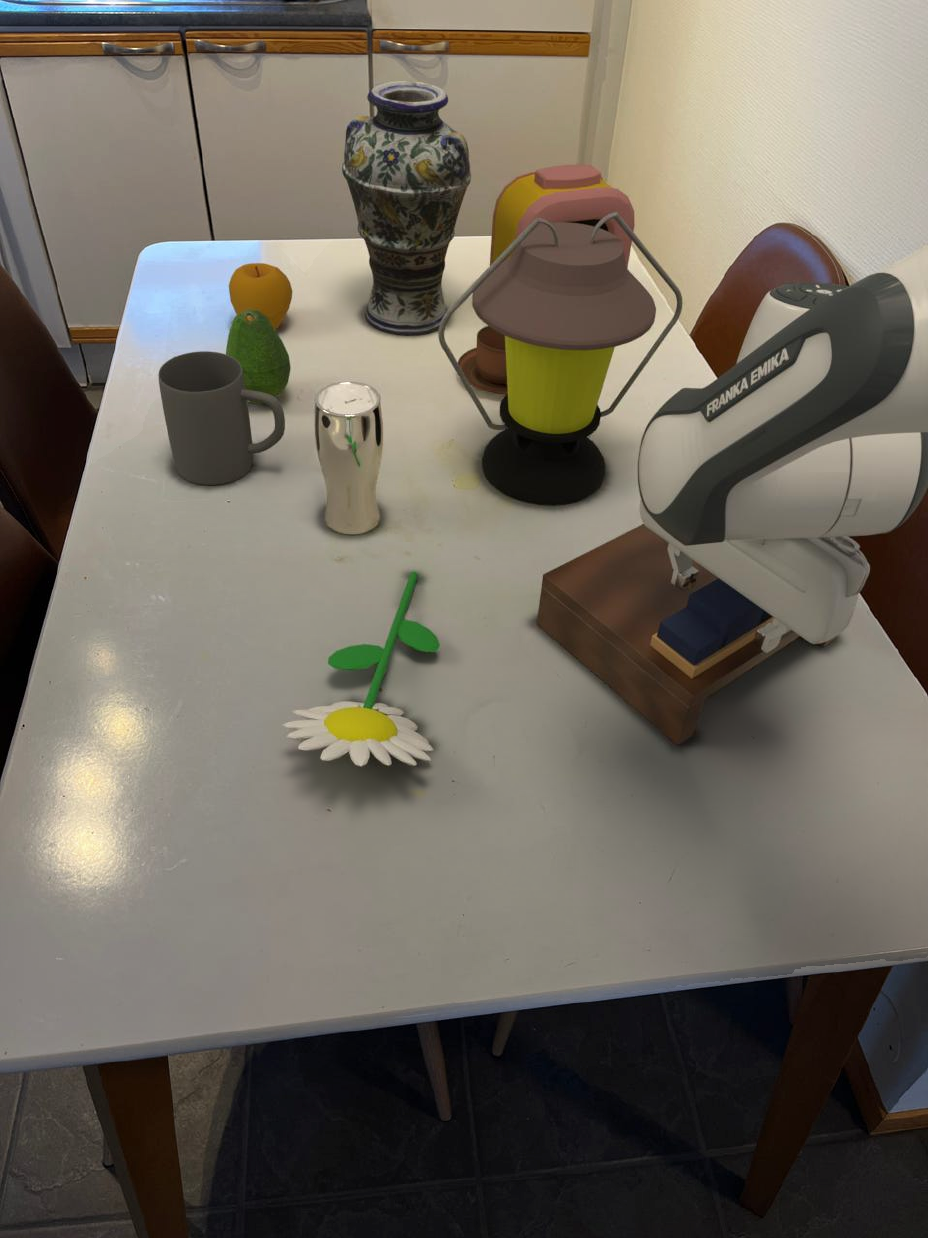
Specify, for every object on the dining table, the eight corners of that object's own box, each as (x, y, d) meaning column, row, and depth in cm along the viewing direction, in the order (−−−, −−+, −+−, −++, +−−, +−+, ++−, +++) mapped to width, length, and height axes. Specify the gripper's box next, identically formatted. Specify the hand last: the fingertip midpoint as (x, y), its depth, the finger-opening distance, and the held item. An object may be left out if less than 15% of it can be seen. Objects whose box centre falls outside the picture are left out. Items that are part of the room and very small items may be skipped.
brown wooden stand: (835, 639, 96) (857, 590, 92) (677, 746, 85) (693, 696, 81) (693, 540, 107) (705, 492, 102) (536, 623, 96) (542, 574, 91)
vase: (369, 282, 149) (364, 65, 129) (477, 300, 147) (489, 81, 126) (330, 330, 138) (318, 100, 117) (447, 351, 135) (455, 118, 114)
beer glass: (312, 531, 105) (302, 410, 94) (332, 494, 110) (325, 375, 99) (374, 542, 104) (371, 421, 93) (391, 504, 109) (391, 386, 98)
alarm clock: (512, 328, 141) (523, 191, 127) (483, 295, 148) (491, 162, 135) (624, 311, 146) (646, 178, 133) (591, 281, 153) (609, 151, 140)
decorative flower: (352, 586, 102) (263, 791, 77) (355, 547, 99) (263, 747, 75) (471, 608, 101) (418, 821, 77) (477, 570, 98) (424, 779, 74)
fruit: (217, 402, 122) (204, 313, 114) (259, 377, 127) (250, 290, 119) (264, 423, 119) (254, 333, 111) (306, 397, 124) (299, 308, 116)
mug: (161, 480, 110) (142, 386, 102) (192, 437, 117) (177, 345, 108) (276, 498, 109) (266, 404, 100) (301, 453, 115) (294, 362, 107)
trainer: (738, 592, 91) (753, 546, 87) (781, 622, 88) (798, 576, 84) (649, 645, 85) (661, 598, 81) (691, 679, 82) (706, 632, 78)
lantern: (650, 438, 121) (702, 191, 100) (648, 531, 107) (708, 268, 87) (455, 413, 123) (467, 167, 102) (428, 502, 109) (435, 238, 89)
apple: (296, 313, 141) (292, 253, 135) (292, 341, 135) (287, 280, 129) (237, 312, 140) (230, 252, 134) (230, 340, 134) (222, 279, 128)
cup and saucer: (470, 350, 135) (472, 309, 131) (554, 366, 133) (559, 324, 129) (446, 392, 127) (447, 349, 122) (535, 409, 125) (540, 366, 120)
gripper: (901, 540, 71) (842, 669, 81) (694, 415, 82) (663, 541, 92) (850, 572, 68) (795, 702, 78) (642, 438, 80) (616, 566, 89)
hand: (722, 614), depth 85 cm, fingers open, 8 cm apart
